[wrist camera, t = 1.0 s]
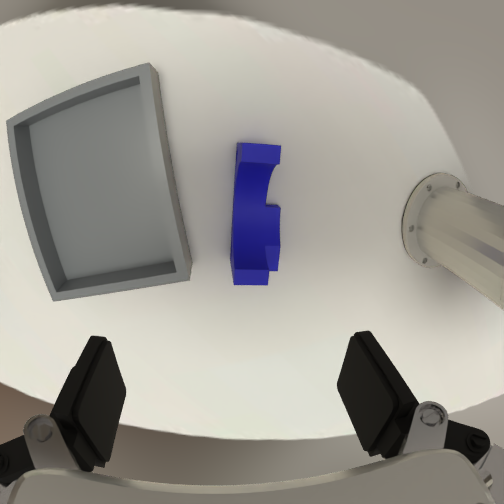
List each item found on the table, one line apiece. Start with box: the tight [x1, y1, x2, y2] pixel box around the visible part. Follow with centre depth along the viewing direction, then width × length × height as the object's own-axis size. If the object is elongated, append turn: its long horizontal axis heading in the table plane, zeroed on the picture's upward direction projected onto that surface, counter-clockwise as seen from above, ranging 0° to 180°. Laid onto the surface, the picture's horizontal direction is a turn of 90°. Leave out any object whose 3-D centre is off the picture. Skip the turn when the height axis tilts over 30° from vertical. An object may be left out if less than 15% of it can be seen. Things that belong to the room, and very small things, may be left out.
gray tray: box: [6, 63, 192, 302], centre depth 24 cm, size 16×20×4 cm
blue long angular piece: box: [230, 143, 281, 285], centre depth 26 cm, size 12×4×6 cm, turn 176°
